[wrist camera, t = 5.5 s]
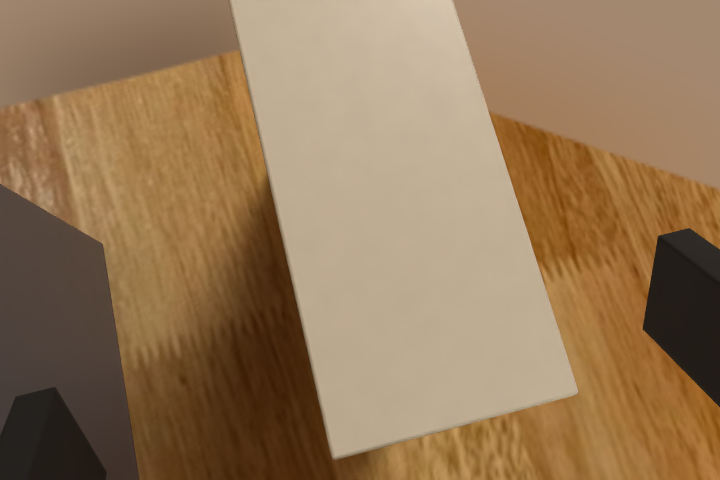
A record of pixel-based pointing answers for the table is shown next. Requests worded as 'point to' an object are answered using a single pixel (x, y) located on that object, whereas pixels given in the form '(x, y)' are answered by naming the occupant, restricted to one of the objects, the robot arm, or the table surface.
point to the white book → (396, 220)
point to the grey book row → (61, 328)
